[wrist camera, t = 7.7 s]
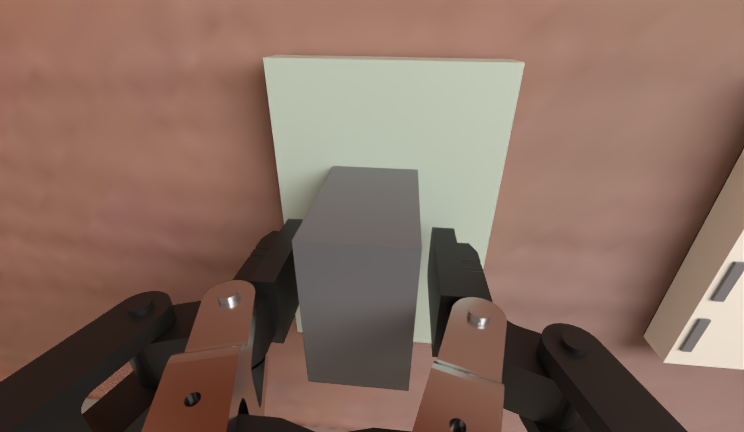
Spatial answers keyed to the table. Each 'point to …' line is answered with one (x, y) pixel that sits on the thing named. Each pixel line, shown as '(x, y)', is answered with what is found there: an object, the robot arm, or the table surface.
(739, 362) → the cream panel
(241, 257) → the table surface
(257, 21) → the table surface
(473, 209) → the stub
